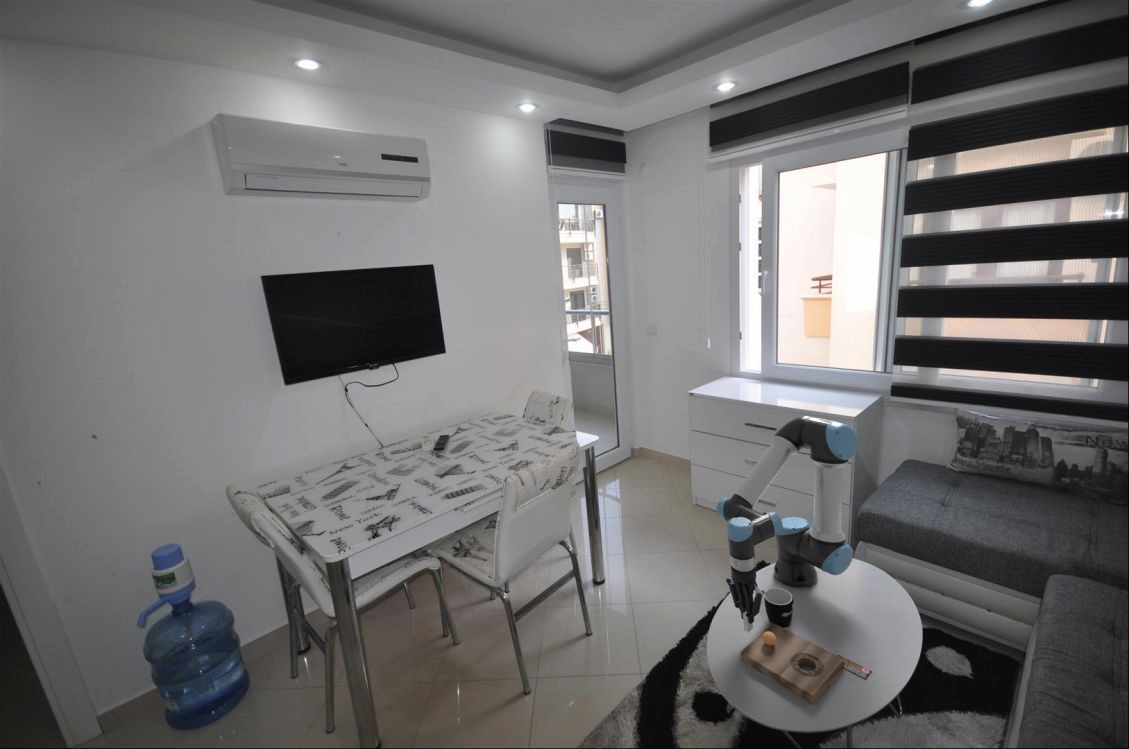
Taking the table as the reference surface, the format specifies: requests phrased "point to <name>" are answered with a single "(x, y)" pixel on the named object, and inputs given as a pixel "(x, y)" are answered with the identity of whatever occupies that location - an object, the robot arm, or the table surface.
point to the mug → (779, 606)
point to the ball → (769, 638)
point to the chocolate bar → (856, 669)
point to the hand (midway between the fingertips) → (748, 629)
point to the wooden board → (793, 662)
